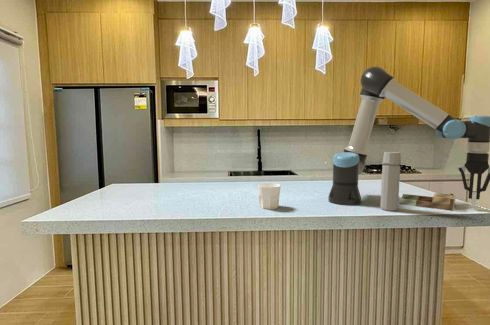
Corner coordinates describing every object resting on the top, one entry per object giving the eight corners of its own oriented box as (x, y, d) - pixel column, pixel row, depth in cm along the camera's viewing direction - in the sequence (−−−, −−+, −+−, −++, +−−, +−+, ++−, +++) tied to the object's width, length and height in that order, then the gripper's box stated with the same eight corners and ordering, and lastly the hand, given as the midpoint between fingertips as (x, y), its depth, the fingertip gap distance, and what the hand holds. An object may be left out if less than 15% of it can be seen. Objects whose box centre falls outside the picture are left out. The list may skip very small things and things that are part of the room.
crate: (431, 207, 138) (432, 195, 137) (434, 203, 144) (435, 192, 144) (453, 210, 133) (454, 197, 132) (454, 206, 139) (455, 194, 139)
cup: (254, 208, 134) (255, 186, 133) (261, 203, 143) (261, 182, 142) (277, 210, 130) (277, 187, 129) (282, 205, 140) (282, 184, 138)
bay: (398, 204, 143) (399, 193, 142) (402, 198, 154) (403, 188, 154) (452, 210, 131) (453, 199, 130) (452, 204, 142) (453, 193, 142)
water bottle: (401, 212, 128) (404, 153, 126) (381, 211, 130) (384, 152, 127) (395, 206, 137) (398, 151, 135) (376, 205, 139) (379, 151, 136)
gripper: (459, 152, 130) (455, 205, 133) (498, 153, 123) (493, 210, 126) (459, 151, 137) (455, 202, 139) (496, 152, 129) (491, 206, 132)
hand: (473, 206), depth 132 cm, fingers closed
